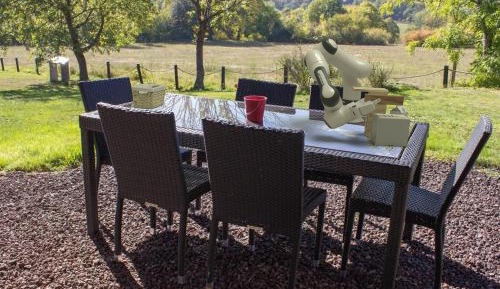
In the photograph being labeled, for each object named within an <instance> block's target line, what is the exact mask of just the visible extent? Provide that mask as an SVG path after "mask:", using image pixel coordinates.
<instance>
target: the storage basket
mask: <svg viewBox="0 0 500 289" xmlns="http://www.w3.org/2000/svg"><path fill="white" fill-rule="evenodd" d="M166 86H167V85H166V84H164V83H162V84H161V83H140V84H137V85H133V86H131V93H132V102H133V103H132V104H133V107H134V108H137V109H151V110H152V109H155V108H158V107H159V108H160V107H161V106H163V105H164V104H165V96H166Z"/></svg>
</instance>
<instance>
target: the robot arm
mask: <svg viewBox="0 0 500 289" xmlns="http://www.w3.org/2000/svg"><path fill="white" fill-rule="evenodd" d="M303 64H304V66H305V67H306V68H307V70H308V73H309V75H310V77H311V78H312V79H313V81H314V82H317V84H318V87H319V99H320V101H321V102H320V103H322V105H323V107H324V109H323V110H324V113H323V114H324V115H323V118H322V119H323V122H324V123H325V125H326V127H327V128H329V130H335V129H337V128H340V127H343V126H345V125H346V124H347V123H351V124H354V123H365V119H363V117H364V116H366V114H368V113H370V112H371V111H373V110H374V109H375V106H374V105H376V104H377V103H378V102H380V101H381V99H380V98H378V99H376V100H374V101H372V102H371V101H367V102H365V101H364V98H365V97H363V98H361V96H362V91H354V90H353V89H352V87H362V86H361V85H360V83H359V79H366V78H368V77H369V76H371V75H372V74H371V73H372V69H373V67H372V65H371V63H369V62H367V61H365V60H363V59H361V58H359V57H357V56H355V55H353V54H350V53H349V52H347V51H346V50H344V49H342V48H341V47H339V46H338V44H337V43H336V42H335V40H333V38H330V37H325V38H323V39H322V40H321V41H320V42H319V43H318V44H317V45H316V46H314V47H313V48H312V49H311V50H309V51H308V52H307V53H306V54H305V57H304V59H303ZM329 65H331V66H333V67H334V68H336V69H337V70H338V73H339V74H340V77H341V80H342V85H343V90H342V97H341V94H340V91H339V89H338V88H337V87H336V86H334V85H333V84H332V82H331V80H330V78H329V77H330V75H331V73H330V72H331V71H330V66H329Z"/></svg>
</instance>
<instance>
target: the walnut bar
mask: <svg viewBox="0 0 500 289" xmlns="http://www.w3.org/2000/svg"><path fill="white" fill-rule="evenodd" d="M363 98H364V101H365V102H367V101H371V102H372V101H374V100H376V99H378V98H380V99H381V101H380V102H378V103H377V104H380V105H387V106H396V105H399V106H404V101H405V96H403V95H394V94H393V95H392V94H390V95H389V94H388V95H376V94H368V93H364V97H363Z"/></svg>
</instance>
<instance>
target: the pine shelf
mask: <svg viewBox="0 0 500 289" xmlns="http://www.w3.org/2000/svg"><path fill="white" fill-rule="evenodd" d="M352 89H353V90H354V91H361V92H366V93H367V92H368V93H367V94H376V95H389V89H388V88H387V89H386V88H382V87H362V86H361V87H352ZM374 106H375V109H374V110H373V111H371V112H370V113H368V114H366V115H365V119H364V131H363V134H364V135H365V136H366V137H370V138H371V134H372V124H373V115H374V114H387V106H388V105H380V104H376V105H374Z"/></svg>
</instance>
